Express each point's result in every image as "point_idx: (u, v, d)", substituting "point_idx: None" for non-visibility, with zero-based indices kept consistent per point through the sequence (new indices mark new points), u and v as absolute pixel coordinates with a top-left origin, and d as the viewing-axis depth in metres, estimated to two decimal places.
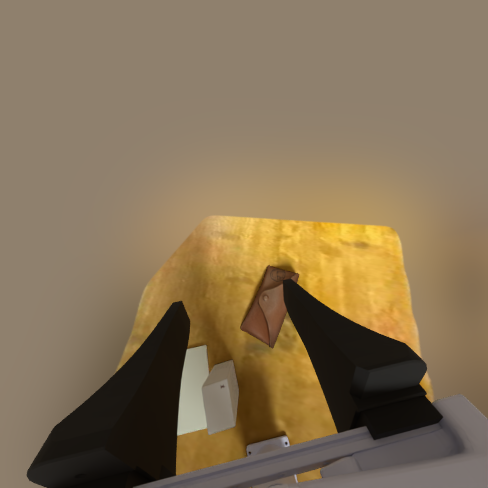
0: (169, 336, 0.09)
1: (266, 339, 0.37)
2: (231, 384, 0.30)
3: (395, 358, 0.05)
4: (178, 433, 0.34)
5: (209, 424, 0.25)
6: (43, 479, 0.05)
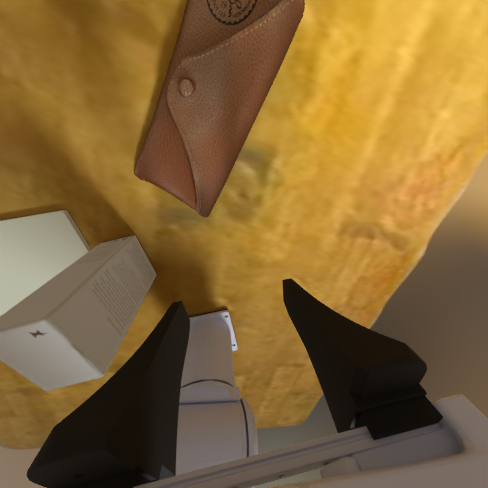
0: (169, 336, 0.09)
1: (191, 200, 0.17)
2: (99, 300, 0.13)
3: (395, 358, 0.05)
4: None
5: (38, 382, 0.11)
6: (43, 479, 0.05)
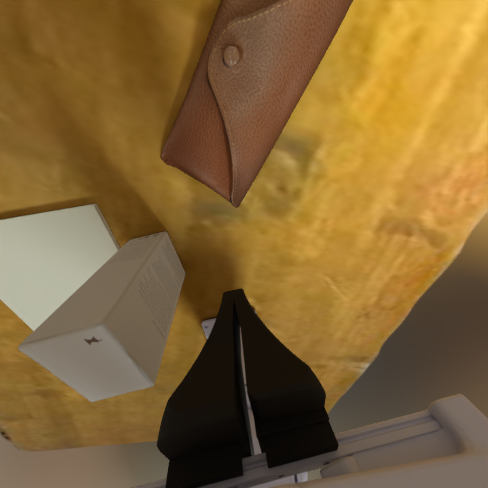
0: (233, 322, 0.09)
1: (224, 188, 0.15)
2: (145, 301, 0.12)
3: (287, 384, 0.05)
4: None
5: (85, 393, 0.10)
6: (169, 447, 0.05)
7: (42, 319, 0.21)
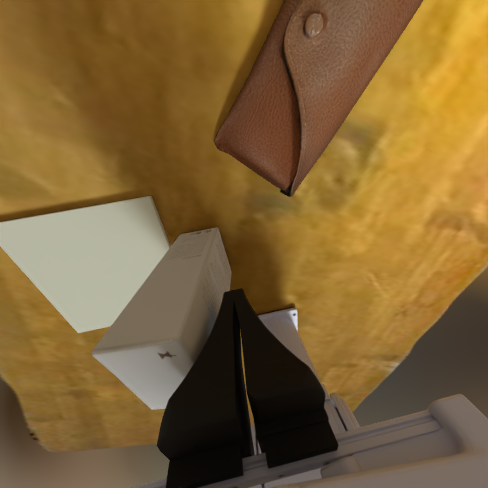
0: (234, 322, 0.09)
1: (284, 174, 0.14)
2: (207, 307, 0.11)
3: (286, 384, 0.05)
4: None
5: (147, 401, 0.10)
6: (169, 447, 0.05)
7: (84, 317, 0.20)
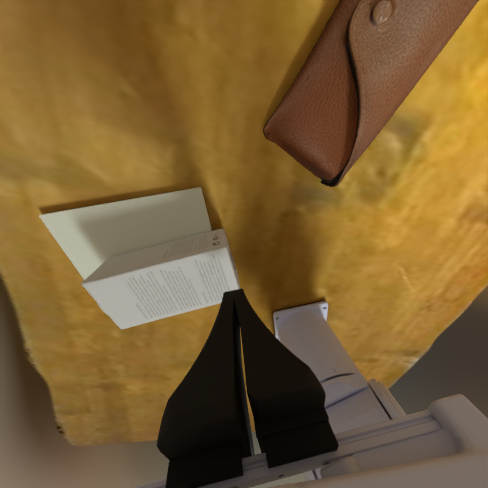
0: (233, 322, 0.09)
1: (334, 163, 0.14)
2: (132, 290, 0.15)
3: (287, 384, 0.05)
4: None
5: None
6: (168, 447, 0.05)
7: None
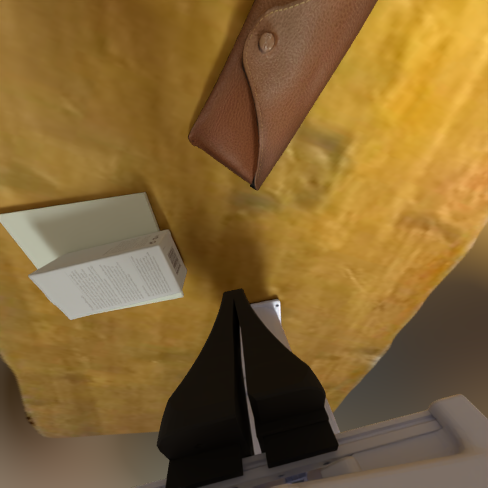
0: (234, 322, 0.09)
1: (248, 169, 0.16)
2: (75, 283, 0.16)
3: (287, 384, 0.05)
4: (130, 305, 0.23)
5: None
6: (169, 447, 0.05)
7: None
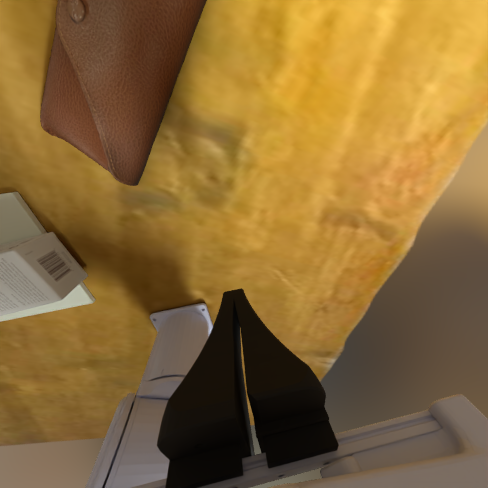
0: (233, 322, 0.09)
1: (103, 161, 0.14)
2: None
3: (287, 384, 0.05)
4: (35, 312, 0.22)
5: None
6: (168, 447, 0.05)
7: None
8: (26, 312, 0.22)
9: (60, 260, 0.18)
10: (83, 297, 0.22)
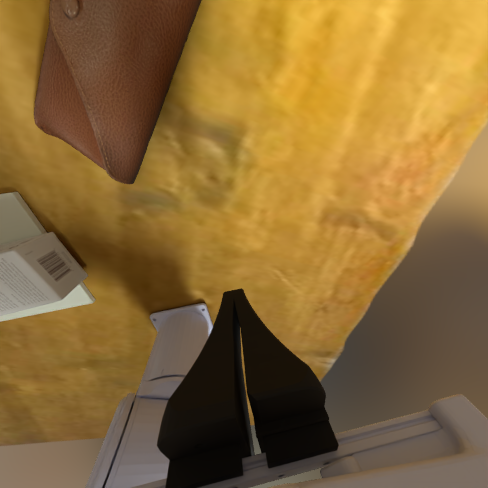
0: (233, 322, 0.09)
1: (99, 159, 0.14)
2: None
3: (287, 384, 0.05)
4: (35, 312, 0.22)
5: None
6: (168, 447, 0.05)
7: None
8: (26, 312, 0.22)
9: (60, 260, 0.18)
10: (83, 297, 0.22)
